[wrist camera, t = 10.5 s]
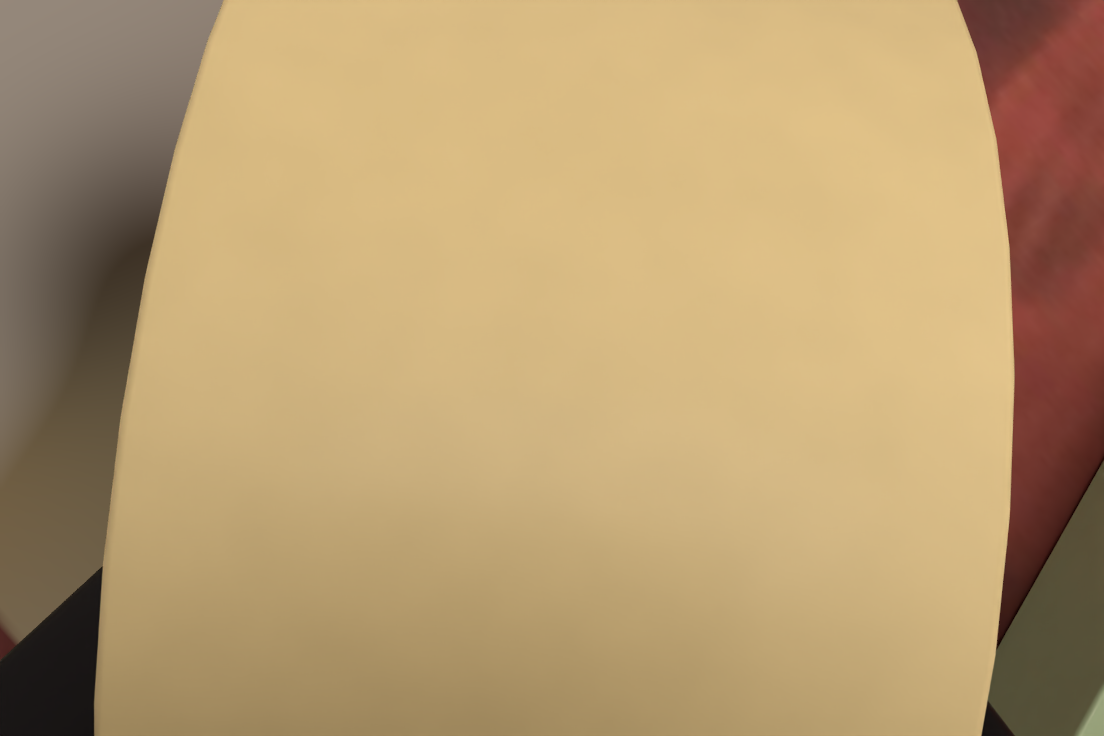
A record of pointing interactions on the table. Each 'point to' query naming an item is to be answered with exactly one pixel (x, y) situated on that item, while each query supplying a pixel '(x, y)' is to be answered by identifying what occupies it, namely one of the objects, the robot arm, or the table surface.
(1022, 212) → the table surface
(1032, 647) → the green divided tray
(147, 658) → the masking tape roll
